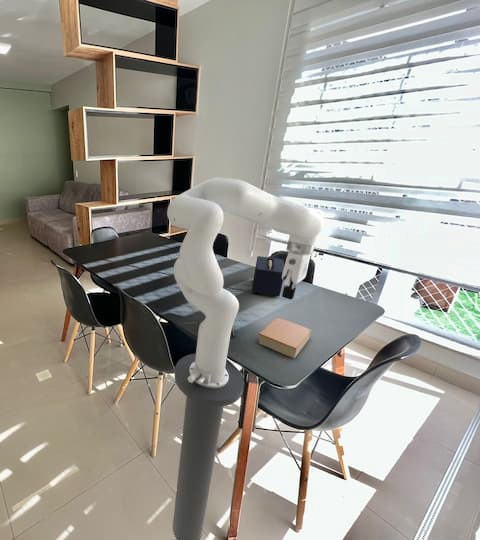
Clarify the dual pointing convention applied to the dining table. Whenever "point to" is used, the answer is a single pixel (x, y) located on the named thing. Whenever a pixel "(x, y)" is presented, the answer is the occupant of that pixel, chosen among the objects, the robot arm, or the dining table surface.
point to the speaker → (268, 276)
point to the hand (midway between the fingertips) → (287, 297)
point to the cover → (286, 333)
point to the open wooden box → (282, 346)
